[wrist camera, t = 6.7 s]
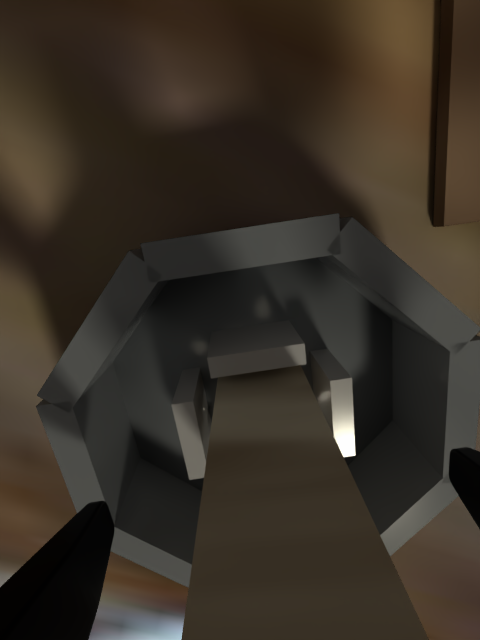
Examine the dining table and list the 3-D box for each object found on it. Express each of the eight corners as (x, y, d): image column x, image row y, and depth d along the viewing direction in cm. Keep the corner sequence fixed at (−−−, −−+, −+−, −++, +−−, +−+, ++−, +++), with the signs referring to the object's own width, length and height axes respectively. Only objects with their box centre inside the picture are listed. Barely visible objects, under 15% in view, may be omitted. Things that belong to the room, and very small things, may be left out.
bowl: (404, 480, 15) (464, 565, 11) (145, 518, 15) (116, 616, 11) (407, 203, 11) (498, 188, 8) (64, 255, 11) (-18, 267, 8)
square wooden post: (299, 420, 13) (486, 988, 3) (229, 427, 13) (202, 1002, 3) (295, 354, 12) (529, 854, 2) (219, 362, 12) (149, 877, 2)
